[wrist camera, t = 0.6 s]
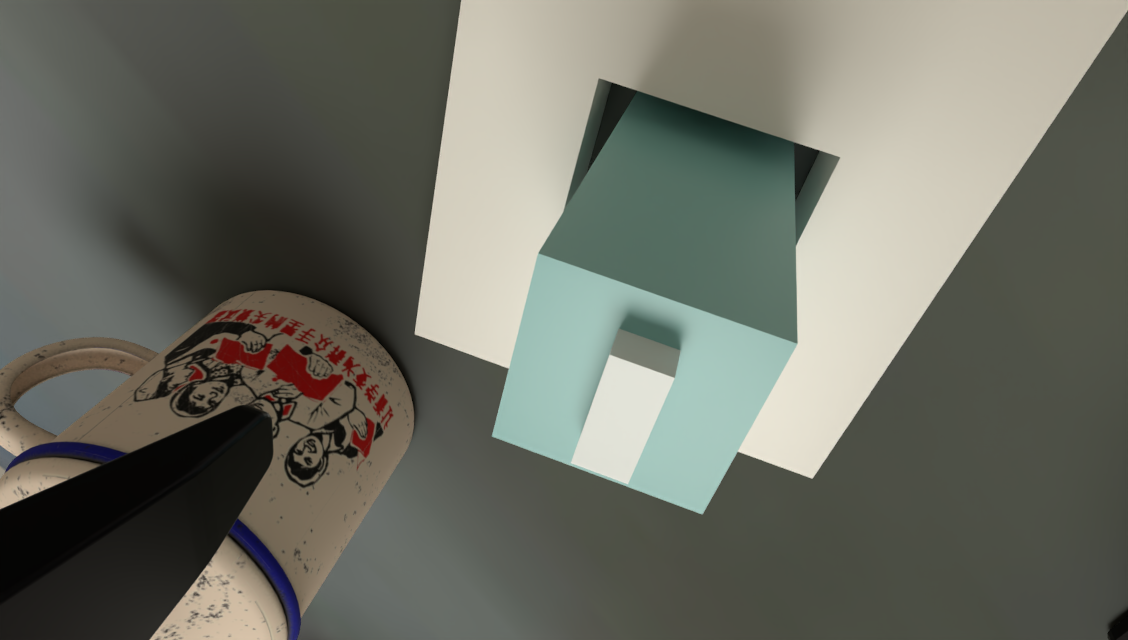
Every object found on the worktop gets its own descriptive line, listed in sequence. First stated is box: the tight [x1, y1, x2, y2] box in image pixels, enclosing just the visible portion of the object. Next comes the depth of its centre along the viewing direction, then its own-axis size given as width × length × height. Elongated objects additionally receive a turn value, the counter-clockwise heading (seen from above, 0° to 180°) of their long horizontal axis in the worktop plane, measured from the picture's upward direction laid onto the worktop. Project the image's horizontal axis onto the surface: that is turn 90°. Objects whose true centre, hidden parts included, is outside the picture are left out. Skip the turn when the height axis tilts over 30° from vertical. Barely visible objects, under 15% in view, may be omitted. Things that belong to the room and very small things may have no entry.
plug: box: [492, 91, 798, 514], centre depth 15 cm, size 4×4×10 cm
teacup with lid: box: [0, 290, 414, 640], centre depth 22 cm, size 12×9×12 cm
